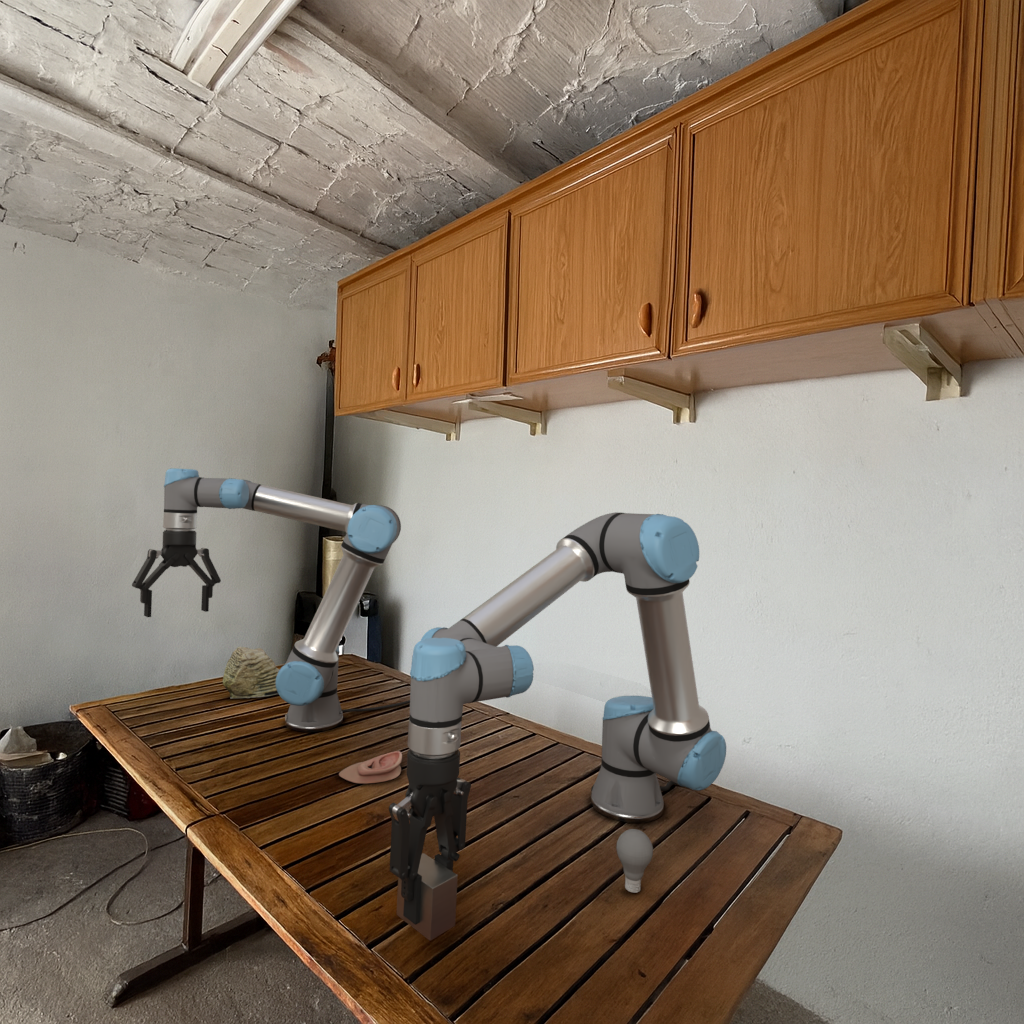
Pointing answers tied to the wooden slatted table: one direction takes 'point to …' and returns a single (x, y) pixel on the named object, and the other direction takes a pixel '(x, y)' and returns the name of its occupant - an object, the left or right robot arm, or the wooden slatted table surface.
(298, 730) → the left robot arm
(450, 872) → the brick
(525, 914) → the wooden slatted table surface
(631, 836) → the light bulb
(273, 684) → the fossil
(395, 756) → the anatomical model
